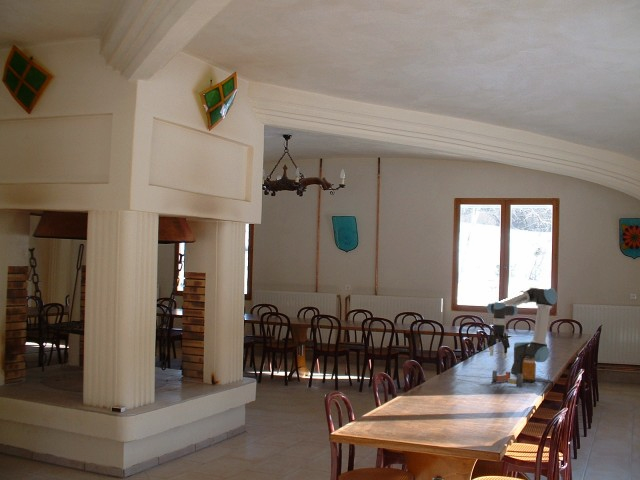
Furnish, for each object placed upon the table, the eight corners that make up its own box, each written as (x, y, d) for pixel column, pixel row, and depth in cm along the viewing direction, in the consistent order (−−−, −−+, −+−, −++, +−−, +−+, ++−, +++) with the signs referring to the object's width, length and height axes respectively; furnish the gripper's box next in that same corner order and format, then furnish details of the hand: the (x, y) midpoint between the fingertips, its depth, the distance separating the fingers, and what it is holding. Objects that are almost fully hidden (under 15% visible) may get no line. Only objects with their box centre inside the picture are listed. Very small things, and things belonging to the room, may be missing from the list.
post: (492, 381, 473) (493, 370, 473) (498, 382, 471) (498, 370, 471) (490, 382, 470) (490, 370, 470) (495, 383, 468) (496, 371, 468)
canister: (535, 383, 474) (536, 353, 474) (518, 382, 476) (519, 352, 476) (534, 381, 482) (535, 352, 483) (517, 380, 485) (518, 351, 485)
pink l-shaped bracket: (495, 381, 473) (495, 372, 473) (507, 380, 481) (507, 371, 481) (498, 382, 471) (498, 373, 471) (510, 380, 479) (510, 371, 479)
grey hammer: (510, 384, 465) (510, 372, 465) (522, 386, 460) (522, 374, 460) (507, 385, 462) (508, 373, 462) (520, 387, 457) (520, 374, 457)
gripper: (482, 323, 490) (481, 354, 489) (509, 326, 472) (507, 359, 471) (489, 322, 495) (488, 354, 494) (516, 326, 476) (515, 358, 475)
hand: (497, 356), depth 482 cm, fingers open, 10 cm apart
